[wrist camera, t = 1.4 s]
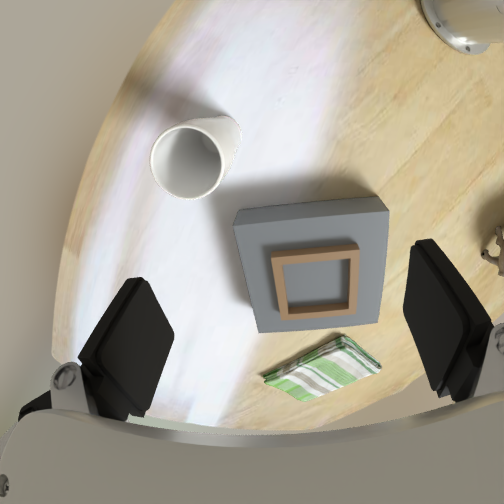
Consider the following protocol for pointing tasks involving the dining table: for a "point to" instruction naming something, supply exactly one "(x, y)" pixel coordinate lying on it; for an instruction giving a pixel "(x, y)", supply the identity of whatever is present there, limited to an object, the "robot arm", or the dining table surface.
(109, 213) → the dining table surface
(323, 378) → the dish towel
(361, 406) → the dining table surface
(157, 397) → the dining table surface
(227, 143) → the white tapered cylinder
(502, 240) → the rhinoceros figurine
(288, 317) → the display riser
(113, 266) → the dining table surface
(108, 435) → the robot arm
